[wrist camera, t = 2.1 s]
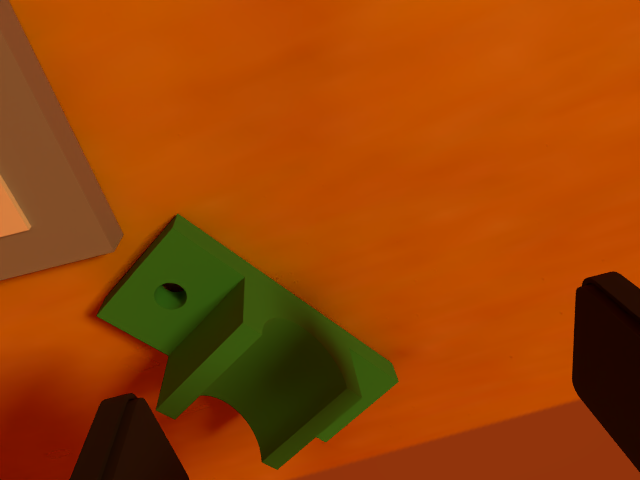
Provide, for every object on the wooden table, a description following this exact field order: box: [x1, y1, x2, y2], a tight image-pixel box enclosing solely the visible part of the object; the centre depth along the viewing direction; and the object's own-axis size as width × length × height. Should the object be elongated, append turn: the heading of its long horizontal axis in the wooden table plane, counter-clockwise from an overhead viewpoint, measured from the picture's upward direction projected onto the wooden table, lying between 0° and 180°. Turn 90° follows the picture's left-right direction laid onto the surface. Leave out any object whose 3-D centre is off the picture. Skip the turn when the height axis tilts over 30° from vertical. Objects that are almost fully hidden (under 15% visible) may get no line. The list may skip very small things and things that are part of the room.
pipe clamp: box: [97, 214, 399, 470], centre depth 17 cm, size 11×4×5 cm
